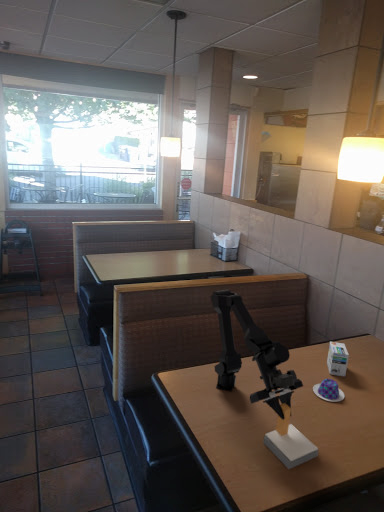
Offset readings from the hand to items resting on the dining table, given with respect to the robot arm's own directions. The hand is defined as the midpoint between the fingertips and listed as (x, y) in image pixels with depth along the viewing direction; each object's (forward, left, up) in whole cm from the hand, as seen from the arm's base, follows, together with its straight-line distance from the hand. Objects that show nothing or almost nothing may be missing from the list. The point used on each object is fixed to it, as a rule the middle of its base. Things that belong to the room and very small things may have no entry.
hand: (286, 417), depth 122 cm
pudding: (+16, +34, -10) cm, 39 cm away
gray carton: (+2, -2, -10) cm, 10 cm away
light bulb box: (+20, +54, -10) cm, 59 cm away
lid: (+2, -2, -7) cm, 8 cm away
